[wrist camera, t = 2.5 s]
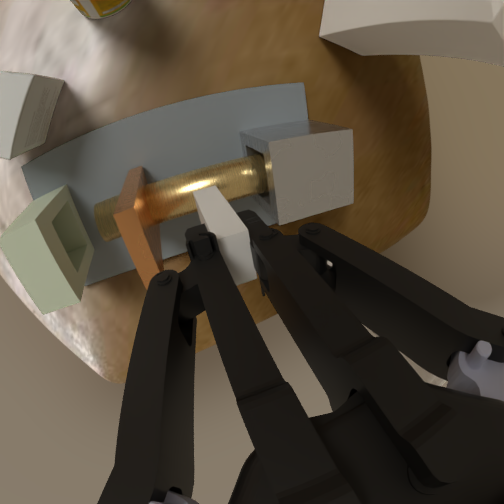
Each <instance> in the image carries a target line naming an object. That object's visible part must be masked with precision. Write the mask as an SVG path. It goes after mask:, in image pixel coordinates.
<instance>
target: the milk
mask: <svg viewBox="0 0 504 504" xmlns="http://www.w3.org/2000/svg"><path fill="white" fill-rule="evenodd" d="M319 37H321V38H323V39H326V40H328V41H331V42H333V43H335V44H338V45H340V46H342V47H344V48H347V49H349V50H351V51H353V52H355V53H357V54H359V55H361V56H367V55H429V56H442V57H451V58H460V59H467V60H474V61H479V62H485V63H490V64H494V65H499V66H503V67H504V0H325V2H324V9H323V15H322V21H321V27H320V33H319Z"/></svg>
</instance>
